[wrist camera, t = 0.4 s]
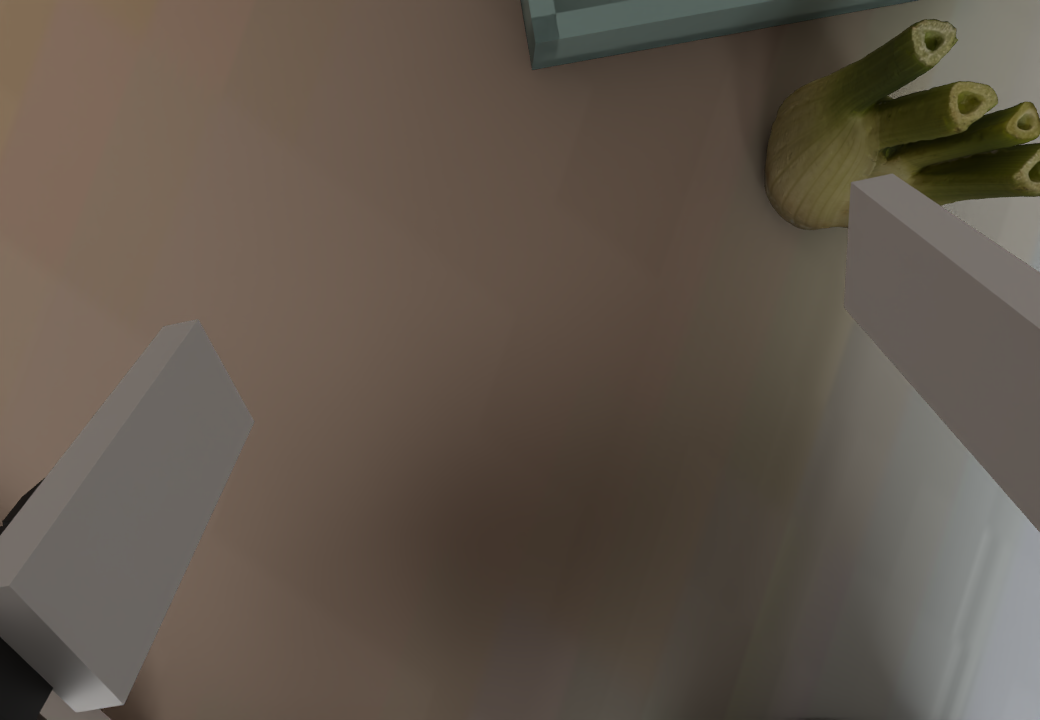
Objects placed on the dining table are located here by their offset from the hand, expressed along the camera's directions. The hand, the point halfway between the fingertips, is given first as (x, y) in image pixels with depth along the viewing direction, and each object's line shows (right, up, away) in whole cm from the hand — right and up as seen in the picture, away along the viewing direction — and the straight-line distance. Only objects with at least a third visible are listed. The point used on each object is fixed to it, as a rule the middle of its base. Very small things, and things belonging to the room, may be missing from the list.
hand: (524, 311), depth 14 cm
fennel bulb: (+12, +7, +16) cm, 21 cm away
